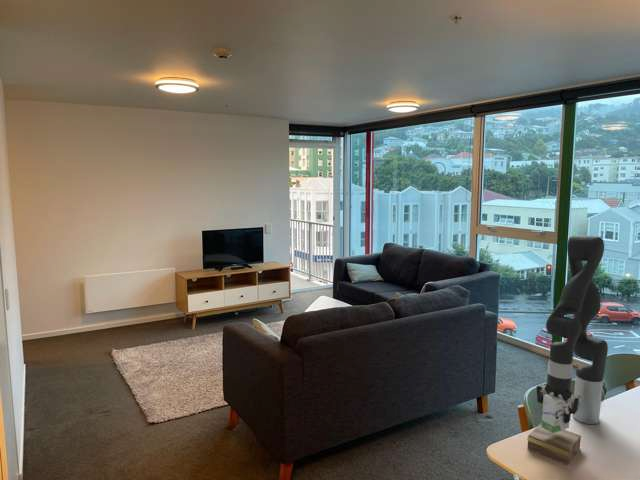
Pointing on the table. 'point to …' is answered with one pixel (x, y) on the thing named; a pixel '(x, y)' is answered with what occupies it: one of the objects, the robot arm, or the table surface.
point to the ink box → (553, 414)
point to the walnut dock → (554, 443)
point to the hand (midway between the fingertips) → (555, 418)
